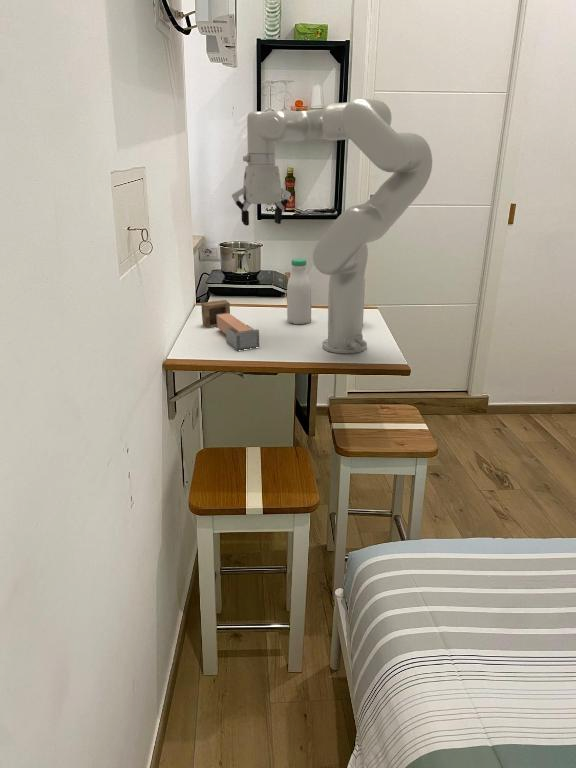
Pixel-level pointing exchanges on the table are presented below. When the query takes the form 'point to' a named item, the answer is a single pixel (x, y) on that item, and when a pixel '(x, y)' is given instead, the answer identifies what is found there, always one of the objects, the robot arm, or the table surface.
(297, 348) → the table surface
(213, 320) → the socket
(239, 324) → the bar
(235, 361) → the table surface
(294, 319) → the milk bottle
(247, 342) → the channel
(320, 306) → the table surface
